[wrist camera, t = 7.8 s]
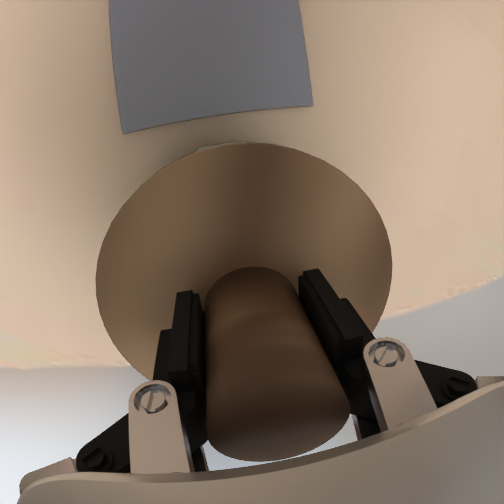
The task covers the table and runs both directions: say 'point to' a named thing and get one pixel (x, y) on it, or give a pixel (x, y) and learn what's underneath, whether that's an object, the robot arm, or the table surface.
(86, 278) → the table surface
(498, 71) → the table surface
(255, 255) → the lid
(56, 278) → the table surface
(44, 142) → the table surface
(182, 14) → the mat
